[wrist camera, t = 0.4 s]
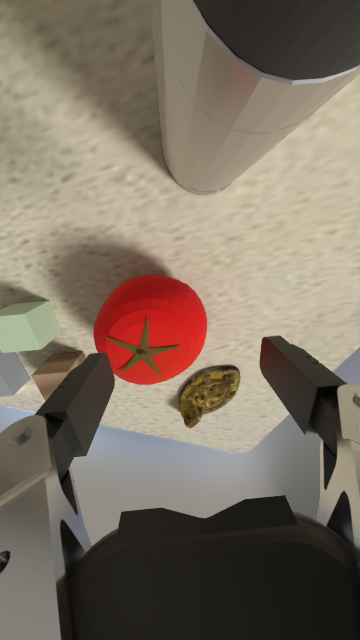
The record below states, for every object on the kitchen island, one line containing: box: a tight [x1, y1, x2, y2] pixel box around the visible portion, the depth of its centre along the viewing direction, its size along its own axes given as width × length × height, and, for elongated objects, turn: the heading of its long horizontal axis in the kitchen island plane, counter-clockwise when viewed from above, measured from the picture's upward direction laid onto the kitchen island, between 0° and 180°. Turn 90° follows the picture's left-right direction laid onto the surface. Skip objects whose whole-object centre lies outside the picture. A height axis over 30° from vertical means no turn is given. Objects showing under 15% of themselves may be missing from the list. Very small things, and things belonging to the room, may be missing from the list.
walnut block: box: [31, 352, 86, 401], centre depth 28 cm, size 5×5×5 cm
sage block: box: [0, 300, 62, 353], centre depth 24 cm, size 5×5×5 cm
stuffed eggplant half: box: [179, 366, 240, 428], centre depth 33 cm, size 9×5×15 cm
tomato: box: [94, 275, 207, 385], centre depth 23 cm, size 14×13×10 cm
